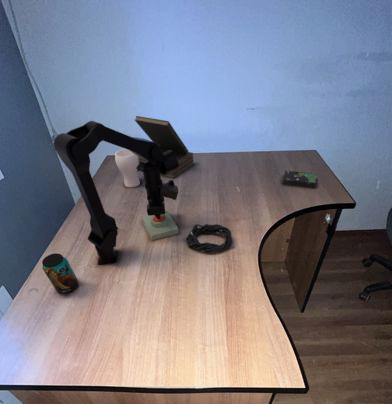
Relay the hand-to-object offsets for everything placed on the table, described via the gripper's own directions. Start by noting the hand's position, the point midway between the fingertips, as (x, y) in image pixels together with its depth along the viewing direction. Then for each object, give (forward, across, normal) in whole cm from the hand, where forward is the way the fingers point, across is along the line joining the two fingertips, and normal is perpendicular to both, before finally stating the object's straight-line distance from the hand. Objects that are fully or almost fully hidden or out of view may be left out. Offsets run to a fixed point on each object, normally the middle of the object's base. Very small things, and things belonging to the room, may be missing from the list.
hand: (158, 218), depth 103 cm
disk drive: (+4, +27, -68) cm, 74 cm away
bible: (+4, +57, -5) cm, 57 cm away
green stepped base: (+4, 0, 0) cm, 4 cm away
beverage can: (+4, -29, +30) cm, 42 cm away
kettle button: (+2, 0, 0) cm, 2 cm away
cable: (+4, -13, -18) cm, 23 cm away
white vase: (+4, +40, +13) cm, 42 cm away
